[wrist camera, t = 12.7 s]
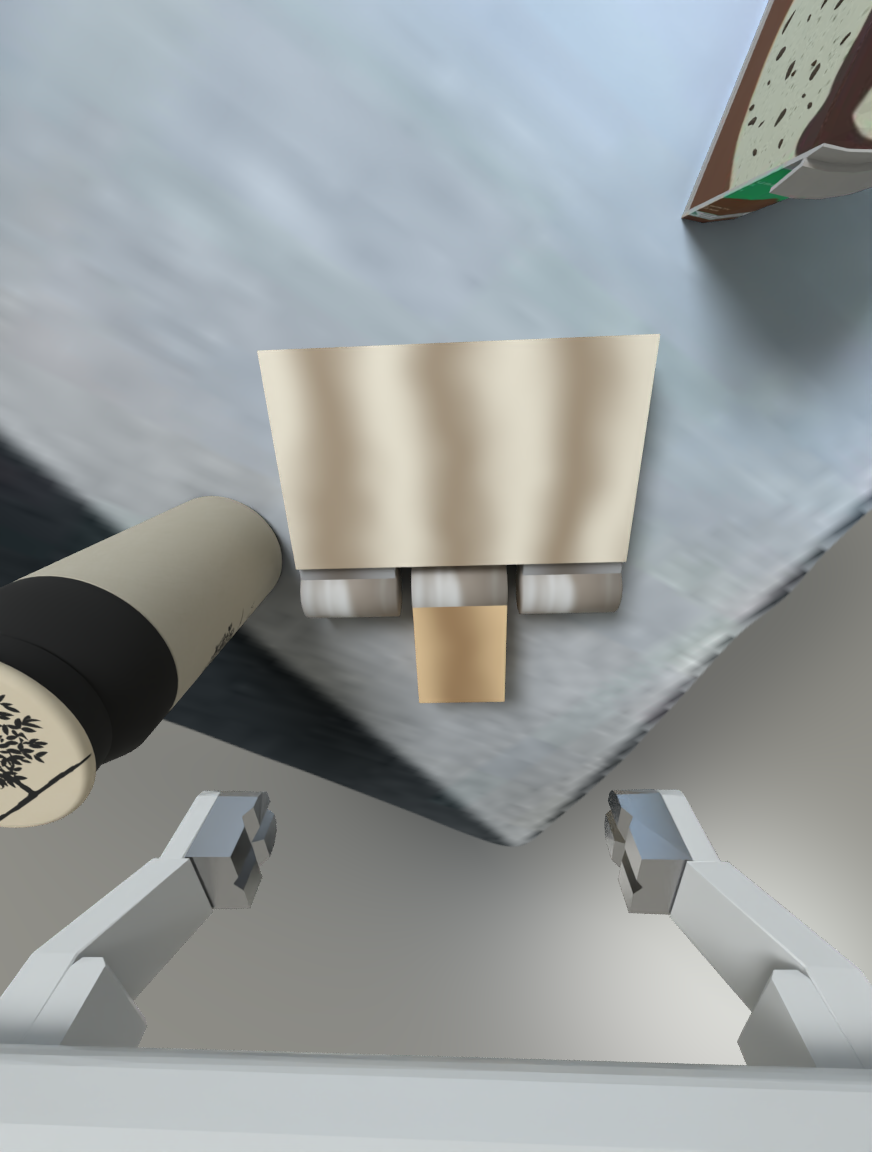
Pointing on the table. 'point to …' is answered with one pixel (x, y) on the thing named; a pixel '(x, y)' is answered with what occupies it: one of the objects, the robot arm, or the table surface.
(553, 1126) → the robot arm
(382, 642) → the table surface
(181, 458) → the table surface
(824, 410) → the table surface
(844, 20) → the food container
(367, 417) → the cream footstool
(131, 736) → the travel mug
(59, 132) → the table surface
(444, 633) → the tan rectangular block
